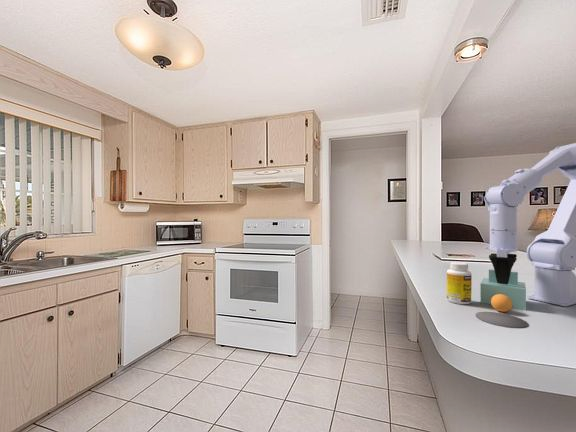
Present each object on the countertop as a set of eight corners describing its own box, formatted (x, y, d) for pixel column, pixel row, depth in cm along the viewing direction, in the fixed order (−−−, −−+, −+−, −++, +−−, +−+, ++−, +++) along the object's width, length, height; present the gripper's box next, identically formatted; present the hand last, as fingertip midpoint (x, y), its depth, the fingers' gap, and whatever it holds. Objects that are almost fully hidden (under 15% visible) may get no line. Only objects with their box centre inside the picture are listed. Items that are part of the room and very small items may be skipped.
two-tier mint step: (483, 295, 79) (483, 266, 79) (524, 301, 73) (524, 270, 73) (480, 302, 72) (480, 271, 72) (525, 310, 66) (525, 276, 66)
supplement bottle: (465, 306, 69) (465, 265, 69) (442, 300, 74) (442, 262, 74) (475, 302, 72) (475, 263, 72) (453, 297, 77) (453, 260, 77)
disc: (490, 310, 66) (490, 309, 66) (536, 323, 58) (536, 322, 58) (466, 315, 62) (466, 315, 62) (513, 330, 54) (513, 329, 54)
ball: (496, 307, 68) (496, 291, 68) (515, 312, 64) (515, 295, 64) (487, 309, 66) (487, 293, 66) (506, 315, 63) (506, 297, 63)
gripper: (486, 229, 81) (486, 275, 81) (482, 230, 70) (481, 284, 70) (517, 230, 76) (517, 279, 76) (518, 232, 65) (518, 289, 65)
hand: (502, 281), depth 73 cm, fingers open, 5 cm apart
